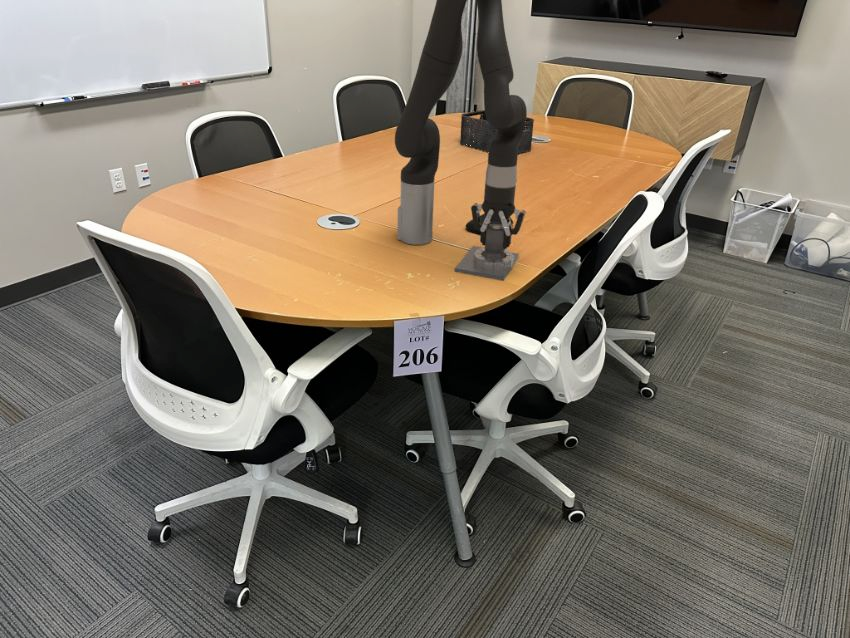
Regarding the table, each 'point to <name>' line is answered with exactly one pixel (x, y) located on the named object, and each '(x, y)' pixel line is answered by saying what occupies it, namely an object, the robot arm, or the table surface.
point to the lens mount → (487, 263)
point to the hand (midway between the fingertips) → (495, 245)
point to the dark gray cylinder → (494, 238)
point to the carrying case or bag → (482, 217)
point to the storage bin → (489, 132)
